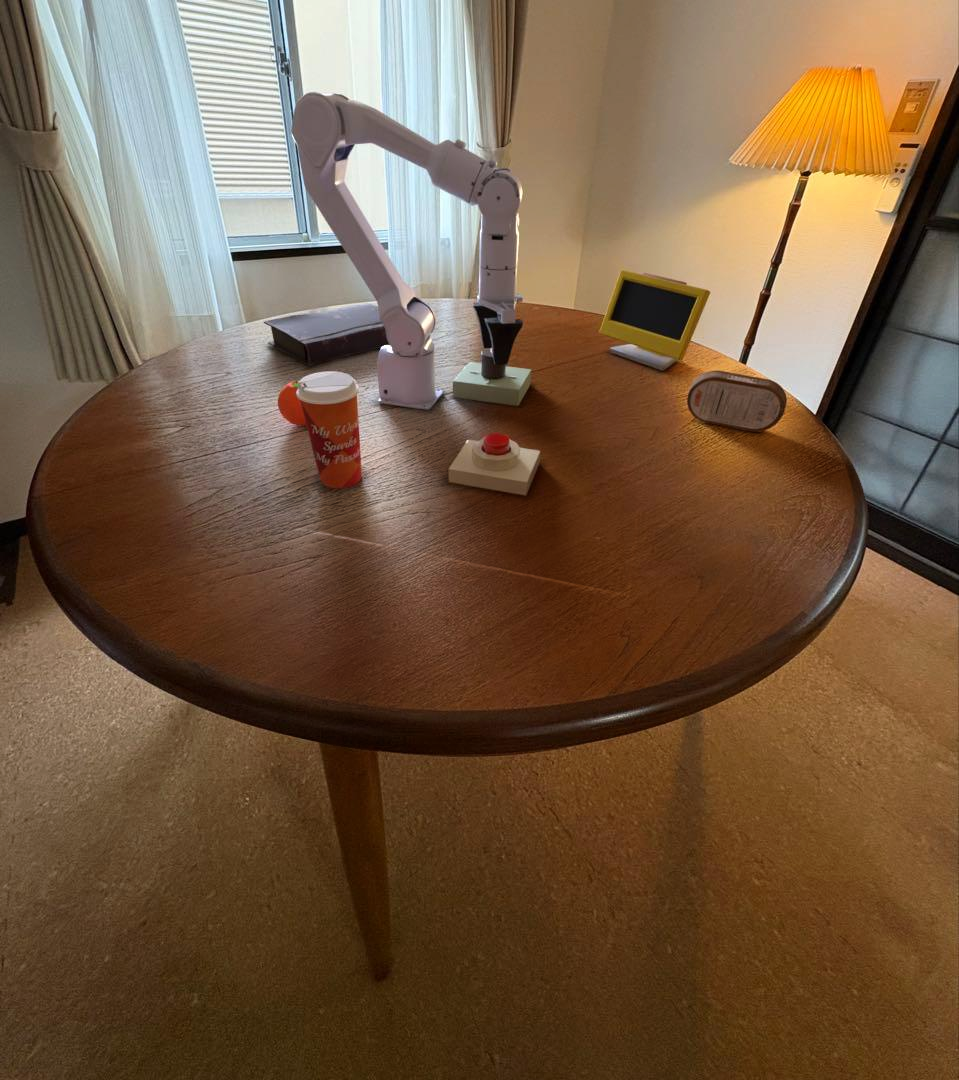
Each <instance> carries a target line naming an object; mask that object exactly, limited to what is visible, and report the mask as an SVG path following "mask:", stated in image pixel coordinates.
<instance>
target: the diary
mask: <svg viewBox="0 0 959 1080" xmlns="http://www.w3.org/2000/svg"><path fill="white" fill-rule="evenodd" d="M263 324H265V325H267V326H269V327H270V329H271V334H272V339H273V341H269V342H267V344H268V345H269V346H271V347H273V348H275V349H277V350H278V351H281V352H282V353H284V354H285V355H288V356H289V357H291V358H293V359H294V360H297V361H298V362H300V363H302V364H304V365H305V366H308V367H311V366H315V365H318V364H323V363H326V362H329V361H332V360H335V359H340V358H343V357H348V356H352V355H356V354H361V353H366V352H369V351H373V350H375V349H378V348H382V347H383V346H385V345H389V346H390V344H389V342H388V340H387V337H386V330H385V327H384V325H383V323H382V322H381V320H380V318H379V312H378V305H376V304H372V303H369V302H364V303H358V304H354V305H353V304H352V305H350V306H344V307H340V308H334V309H330V310H325V311H320V312H313V313H311V312H310V313H303V314H294V315H288V316H284V317H279V318H275V319H270V320H264V321H263Z"/></svg>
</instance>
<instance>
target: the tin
mask: <svg viewBox="0 0 959 1080" xmlns="http://www.w3.org/2000/svg"><path fill="white" fill-rule="evenodd" d="M687 391H688V392H687V394H686V406H687V408H688V411H689V413H690V414H691V415H692V416H693V417H694V419H696V420H698V421H700V422H703V423H706V424H707V423H708V424H712V425H717V426H722V427H727V428H731V429H736V430H742V431H745V432H751V433H758V432H759V433H760V432H764V431H766V430H769V429H771V428H773V427H774V426H775V425H777V424H778V423H779V422H780V421H781V419H782V418H783V416H784V414H785V411H786V407H787V400H788V398H787V394H786V392H785V390H784V388H783V387H782V385H780V384H779V383H778V382H777V381H774V380H771V379H769V378H762V377H758V376H751V375H747V374H742V373H735V372H731V371H725V370H717V369H716V370H715V369H714V370H709V371H705V372H703V373H701V374H699V375H698V376H696V377H695V378H694V380H693V381H692V382H691V383H690V385H689V388H688V390H687Z"/></svg>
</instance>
